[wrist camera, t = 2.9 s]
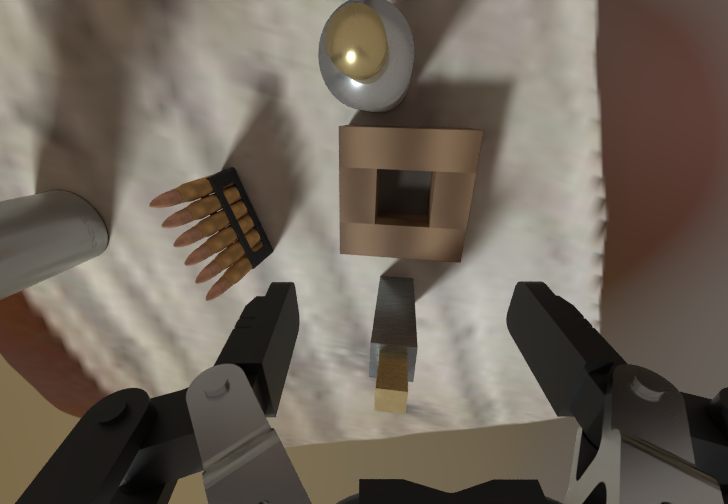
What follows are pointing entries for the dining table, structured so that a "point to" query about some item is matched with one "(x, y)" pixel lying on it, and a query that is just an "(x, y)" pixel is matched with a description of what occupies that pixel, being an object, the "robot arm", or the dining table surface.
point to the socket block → (406, 190)
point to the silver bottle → (367, 55)
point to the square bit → (393, 343)
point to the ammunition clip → (218, 227)
